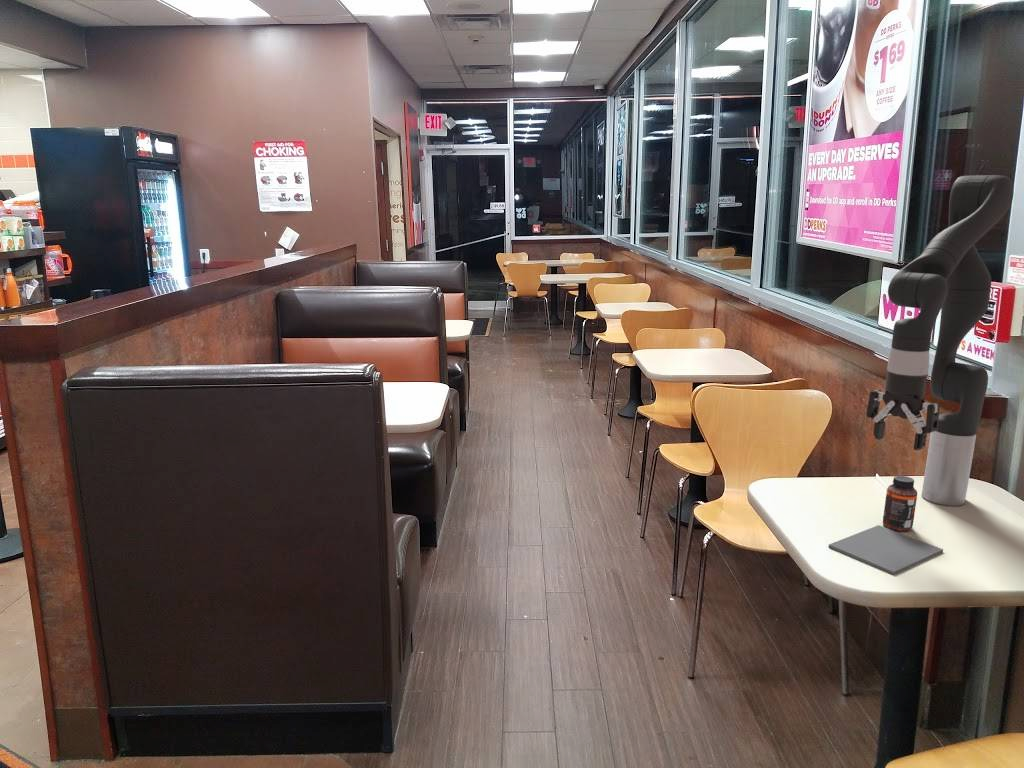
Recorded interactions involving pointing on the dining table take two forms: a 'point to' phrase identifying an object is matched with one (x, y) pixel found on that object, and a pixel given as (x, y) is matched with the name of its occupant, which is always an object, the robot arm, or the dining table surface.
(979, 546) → the dining table surface
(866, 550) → the mat
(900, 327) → the robot arm
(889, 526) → the supplement bottle
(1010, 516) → the dining table surface
